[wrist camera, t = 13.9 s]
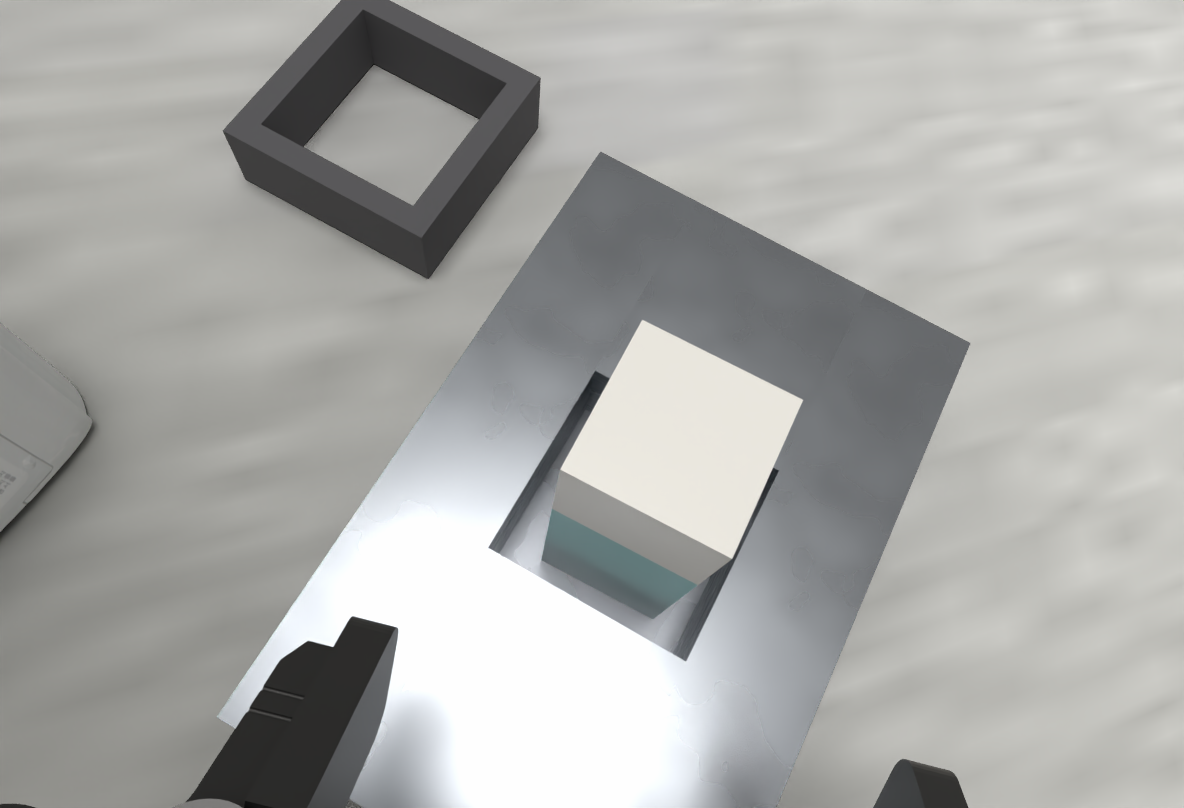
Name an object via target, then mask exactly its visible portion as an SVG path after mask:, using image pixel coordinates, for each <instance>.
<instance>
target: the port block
mask: <svg viewBox="0 0 1184 808" xmlns="http://www.w3.org/2000/svg"><path fill="white" fill-rule="evenodd" d="M642 320H644V321H646V322H648V323H650V324H652V325H654V326H656V327H658V328H660V329H662V330H664V331H666V332H668V333H670V334H672V335H674V336H676V337H678V338H680V339H682V340H684V341H686V342H688V343H690V344H692V345H694V346H696V347H698V348H700V349H702V350H704V351H706V352H708V353H710V354H712V355H714V356H716V357H718V358H720V359H722V360H724V361H726V362H728V363H730V364H732V365H734V366H736V367H738V368H740V369H742V370H744V371H746V372H748V373H750V374H752V375H754V376H756V377H758V378H760V379H762V380H764V381H766V382H768V383H770V384H772V385H774V386H776V387H778V388H780V389H782V390H784V391H786V392H788V393H790V394H792V395H794V396H796V397H798V398H800V399H802V400H803V401H802V404H801V406H800V408H799V410H798V413H797V415H796V417H795V419H794V422H793V424H792V426H791V428H790V431H789V433H788V435H787V437H786V440H785V442H784V444H783V446H782V449H781V451H780V453H779V455H778V457H777V460H776V462H775V464H774V466H773V469H772V471H771V473H770V475H769V478H768V480H767V482H766V484H765V487H764V489H763V491H762V493H761V496H760V498H759V500H758V502H757V505H756V507H755V509H754V511H753V513H752V516H751V518H750V520H749V522H748V525H747V527H746V529H745V531H744V534H743V536H742V538H741V540H740V543H739V545H738V547H737V549H736V552H735V554H734V556H733V558H732V559H731V560H730V561H729V562H728V563H726V564H725V565H724V566H722V567H721V568H720V569H718V570H717V571H716V572H714V573H713V574H712V575H710V576H709V577H708V578H707V579H705V580H704V581H703V582H701V583H700V584H699V585H697V586H696V587H695V588H693V589H692V590H691V591H689V592H688V593H687V594H686V595H684V596H683V597H682V598H680V599H679V600H678V601H676V602H675V603H674V604H672V605H671V606H670V607H668V608H667V609H666V610H665V611H663V612H662V613H661V614H659V615H658V616H657V617H655V618H654V619H651V618H649V617H647V616H646V615H644V614H642V613H640V612H638V611H636V610H634V609H632V608H630V607H629V606H627V605H625V604H623V603H621V602H619V601H617V600H615V599H613V598H612V597H610V596H608V595H606V594H604V593H602V592H600V591H598V590H596V589H595V588H593V587H591V586H589V585H587V584H585V583H583V582H581V581H580V580H578V579H576V578H574V577H572V576H570V575H568V574H566V573H564V572H563V571H561V570H559V569H557V568H555V567H553V566H551V565H549V564H547V563H546V562H544V561H542V560H541V559H542V554H543V549H544V544H545V539H546V535H547V530H548V525H549V520H550V515H551V511H552V506H553V501H554V496H555V492H556V487H557V482H558V477H559V472H560V469H561V467H562V465H563V463H564V462H565V460H566V458H567V456H568V454H569V452H570V451H571V449H572V447H573V445H574V443H575V441H576V440H577V438H578V436H579V434H580V432H581V431H582V429H583V427H584V425H585V423H586V421H587V420H588V418H589V416H590V414H591V412H592V411H593V409H594V407H595V405H596V403H597V401H598V400H599V398H600V396H601V394H602V392H603V390H604V389H605V387H606V385H607V383H608V381H609V380H610V378H611V376H612V374H613V372H614V370H615V369H616V367H617V365H618V363H619V361H620V360H621V358H622V356H623V354H624V352H625V350H626V349H627V347H628V345H629V343H630V341H631V339H632V338H633V336H634V334H635V332H636V330H637V329H638V327H639V325H640V323H641V321H642ZM969 345H970V343H969V342H967V341H965V340H963V339H961V338H959V337H958V336H956V335H954V334H952V333H950V332H948V331H946V330H944V329H942V328H940V327H938V326H936V325H934V324H932V323H931V322H929V321H927V320H925V319H923V318H921V317H919V316H917V315H915V314H913V313H911V312H909V311H907V310H905V309H903V308H902V307H900V306H898V305H896V304H894V303H892V302H890V301H888V300H886V299H884V298H882V297H880V296H878V295H876V294H874V293H873V292H871V291H869V290H867V289H865V288H863V287H861V286H859V285H857V284H855V283H853V282H851V281H849V280H847V279H845V278H844V277H842V276H840V275H838V274H836V273H834V272H832V271H830V270H828V269H826V268H824V267H822V266H820V265H818V264H816V263H815V262H813V261H811V260H809V259H807V258H805V257H803V256H801V255H799V254H797V253H795V252H793V251H791V250H789V249H788V248H786V247H784V246H782V245H780V244H778V243H776V242H774V241H772V240H770V239H768V238H766V237H764V236H762V235H760V234H759V233H757V232H755V231H753V230H751V229H749V228H747V227H745V226H743V225H741V224H739V223H737V222H735V221H733V220H731V219H730V218H728V217H726V216H724V215H722V214H720V213H718V212H716V211H714V210H712V209H710V208H708V207H706V206H704V205H702V204H701V203H699V202H697V201H695V200H693V199H691V198H689V197H687V196H685V195H683V194H681V193H679V192H677V191H675V190H673V189H672V188H670V187H668V186H666V185H664V184H662V183H660V182H658V181H656V180H654V179H652V178H650V177H648V176H646V175H645V174H643V173H641V172H639V171H637V170H635V169H633V168H631V167H629V166H627V165H625V164H623V163H621V162H619V161H617V160H616V159H614V158H612V157H610V156H608V155H606V154H604V153H602V152H600V153H599V155H598V156H597V157H596V159H595V160H594V162H593V163H592V165H591V166H590V168H589V169H588V171H587V172H586V174H585V175H584V177H583V178H582V180H581V181H580V183H579V184H578V185H577V187H576V188H575V190H574V191H573V193H572V194H571V196H570V197H569V199H568V200H567V202H566V203H565V205H564V206H563V208H562V209H561V210H560V212H559V213H558V215H557V216H556V218H555V219H554V221H553V222H552V224H551V225H550V227H549V228H548V230H547V231H546V233H545V234H544V236H543V237H542V238H541V240H540V241H539V243H538V244H537V246H536V247H535V249H534V250H533V252H532V253H531V255H530V256H529V258H528V259H527V261H526V262H525V264H524V265H523V266H522V268H521V269H520V271H519V272H518V274H517V275H516V277H515V278H514V280H513V281H512V283H511V284H510V286H509V287H508V289H507V290H506V292H505V293H504V294H503V296H502V297H501V299H500V300H499V302H498V303H497V305H496V306H495V308H494V309H493V311H492V312H491V314H490V315H489V317H488V318H487V320H486V321H485V322H484V324H483V325H482V327H481V328H480V330H479V331H478V333H477V334H476V336H475V337H474V339H473V340H472V342H471V343H470V345H469V346H468V348H467V349H466V350H465V352H464V353H463V355H462V356H461V358H460V359H459V361H458V362H457V364H456V365H455V367H454V368H453V370H452V371H451V373H450V374H449V375H448V377H447V378H446V380H445V381H444V383H443V384H442V386H441V387H440V389H439V390H438V392H437V393H436V395H435V396H434V398H433V399H432V401H431V402H430V403H429V405H428V406H427V408H426V409H425V411H424V412H423V414H422V415H421V417H420V418H419V420H418V421H417V423H416V424H415V426H414V427H413V429H412V430H411V431H410V433H409V434H408V436H407V437H406V439H405V440H404V442H403V443H402V445H401V446H400V448H399V449H398V451H397V452H396V454H395V455H394V457H393V458H392V459H391V461H390V462H389V464H388V465H387V467H386V468H385V470H384V471H383V473H382V474H381V476H380V477H379V479H378V480H377V482H376V483H375V485H374V486H373V487H372V489H371V490H370V492H369V493H368V495H367V496H366V498H365V499H364V501H363V502H362V504H361V505H360V507H359V508H358V510H357V511H356V512H355V514H354V515H353V517H352V518H351V520H350V521H349V523H348V524H347V526H346V527H345V529H344V530H343V532H342V533H341V535H340V536H339V538H338V539H337V540H336V542H335V543H334V545H333V546H332V548H331V549H330V551H329V552H328V554H327V555H326V557H325V558H324V560H323V561H322V563H321V564H320V566H319V567H318V568H317V570H316V571H315V573H314V574H313V576H312V577H311V579H310V580H309V582H308V583H307V585H306V586H305V588H304V589H303V591H302V592H301V594H300V595H299V596H298V598H297V599H296V601H295V602H294V604H293V605H292V607H291V608H290V610H289V611H288V613H287V614H286V616H285V617H284V619H283V620H282V622H281V623H280V624H279V626H278V627H277V629H276V630H275V632H274V633H273V635H272V636H271V638H270V639H269V641H268V642H267V644H266V645H265V647H264V648H263V649H262V651H261V652H260V654H259V655H258V657H257V658H256V660H255V661H254V663H253V664H252V666H251V667H250V669H249V670H248V672H247V673H246V675H245V676H244V677H243V679H242V680H241V682H240V683H239V685H238V686H237V688H236V689H235V691H234V692H233V694H232V695H231V697H230V698H229V700H228V701H227V703H226V704H225V705H224V707H223V708H222V710H221V711H220V713H219V714H218V716H217V718H219V719H220V720H222V721H224V722H225V723H227V724H228V725H230V726H232V727H233V728H235V729H236V727H237V725H238V724H239V722H240V721H241V719H242V718H243V716H244V715H245V713H246V712H248V711H249V708H250V705H251V704H252V702H253V701H254V699H255V698H256V696H257V695H258V693H259V692H260V691H262V689H263V686H264V684H265V682H266V681H267V679H268V678H269V676H270V675H271V673H272V672H273V670H274V669H275V667H276V665H277V664H278V662H279V661H280V659H282V658H283V657H285V656H286V655H288V654H289V653H291V652H292V651H294V650H295V649H296V648H298V647H299V646H301V645H302V644H304V643H305V642H307V641H312V642H316V643H320V644H324V645H327V646H331V647H333V646H334V645H335V643H336V641H337V639H338V638H339V636H340V634H341V632H342V631H343V629H344V627H345V626H346V624H347V622H348V621H349V619H350V618H351V617H352V616H355V617H359V618H363V619H367V620H370V621H374V622H378V623H382V624H386V625H390V626H394V627H398V630H399V633H398V640H397V646H396V651H395V657H394V663H393V668H392V674H391V679H390V685H389V691H388V696H387V701H386V706H385V710H384V714H383V717H382V721H381V724H380V727H379V730H378V733H377V736H376V738H375V741H374V743H373V745H372V748H371V750H370V752H369V755H368V757H367V759H366V761H365V764H364V766H363V768H362V770H361V773H360V775H359V777H358V780H357V782H356V784H355V786H354V789H353V791H352V793H351V795H350V798H349V799H350V800H352V801H353V802H355V803H356V804H358V805H360V806H361V807H363V808H776V807H777V804H778V802H779V799H780V797H781V795H782V792H783V790H784V787H785V785H786V783H787V780H788V778H789V776H790V773H791V771H792V768H793V766H794V764H795V761H796V759H797V756H798V754H799V752H800V749H801V747H802V744H803V742H804V740H805V737H806V735H807V733H808V730H809V728H810V725H811V723H812V721H813V718H814V716H815V713H816V711H817V709H818V706H819V704H820V701H821V699H822V697H823V694H824V692H825V689H826V687H827V685H828V682H829V680H830V678H831V675H832V673H833V670H834V668H835V666H836V663H837V661H838V658H839V656H840V654H841V651H842V649H843V646H844V644H845V642H846V639H847V637H848V634H849V632H850V630H851V627H852V625H853V623H854V620H855V618H856V615H857V613H858V611H859V608H860V606H861V603H862V601H863V599H864V596H865V594H866V591H867V589H868V587H869V584H870V582H871V580H872V577H873V575H874V572H875V570H876V568H877V565H878V563H879V560H880V558H881V556H882V553H883V551H884V548H885V546H886V544H887V541H888V539H889V536H890V534H891V532H892V529H893V527H894V525H895V522H896V520H897V517H898V515H899V513H900V510H901V508H902V505H903V503H904V501H905V498H906V496H907V493H908V491H909V489H910V486H911V484H912V482H913V479H914V477H915V474H916V472H917V470H918V467H919V465H920V462H921V460H922V458H923V455H924V453H925V450H926V448H927V446H928V443H929V441H930V438H931V436H932V434H933V431H934V429H935V427H936V424H937V422H938V419H939V417H940V415H941V412H942V410H943V407H944V405H945V403H946V400H947V398H948V395H949V393H950V391H951V388H952V386H953V383H954V381H955V379H956V376H957V374H958V372H959V369H960V367H961V364H962V362H963V360H964V357H965V355H966V352H967V350H968V348H969Z"/></svg>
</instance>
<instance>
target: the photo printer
mask: <svg viewBox="0 0 1184 808" xmlns="http://www.w3.org/2000/svg"><path fill="white" fill-rule="evenodd" d="M91 425H92V420H91V418H90V417H89V416H88V415H87V414H86V409H85V405H84V402H83V399H82V397H81V395H80V394H79V392H78V391H77V389H76V388H75V387H74V386H73V384H72V383H71V382H70V381H69V380H67V379H66V378H65V377H64V376H63V375H62V374H60V373H59V372H58V371H57V370H56V369H55V368H53V367H52V366H51V365H50V364H49V363H48V362H46V361H45V360H44V359H43V358H42V357H41V356H39V355H38V354H37V353H36V352H35V351H33V350H32V349H31V348H30V347H29V346H28V345H26V344H25V343H24V342H23V341H22V340H20V339H19V338H18V337H17V336H16V335H15V334H13V333H12V332H11V331H10V330H9V329H8V328H6V327H5V326H4V325H3V324H2V323H0V532H1V531H2V530H3V529H4V527H5V526H6V525H7V524H8V523H9V522H10V521H11V520H12V519H13V518H14V517H15V516H16V515H17V514H18V513H19V512H20V511H21V510H22V509H23V508H24V507H25V506H26V504H27V503H29V502H30V501H31V500H32V499H33V498H34V497H35V496H36V495H37V493H38V492H39V491H40V490H41V489H42V488H43V487H44V486H45V484H46V483H47V482H48V481H49V480H50V479H51V478H52V477H53V476H54V474H55V473H56V472H57V471H58V470H59V469H60V468H61V467H62V465H63V464H64V463H65V462H66V461H67V460H68V459H69V457H70V456H71V455H72V454H73V452H74V451H75V450H76V449H77V447H78V446H79V445H80V443H81V442H82V441H83V439H84V438H85V437H86V435H87V433H88V431H89V430H90V427H91Z"/></svg>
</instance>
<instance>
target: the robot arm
mask: <svg viewBox="0 0 1184 808" xmlns="http://www.w3.org/2000/svg"><path fill="white" fill-rule="evenodd" d="M398 633H399V630H398V627H394V626H390V625H386V624H382V623H378V622H374V621H370V620H367V619H363V618H359V617H355V616H352V617H351V618H350V619H349V621H348V622H347V624H346V626H345V627H344V629H343V631H342V632H341V634H340V636H339V638H338V639H337V641H336V643H335V645H334V646H333V647H331V646H327V645H324V644H320V643H316V642H312V641H307V642H305V643H304V644H302V645H301V646H299V647H298V648H296V649H295V650H294V651H292V652H291V653H289V654H288V655H286V656H285V657H283V658H282V659H280V661H279V662H278V664H277V665H276V667H275V669H274V670H273V672H272V673H271V675H270V676H269V678H268V679H267V681H266V682H265V684H264V686H263V689H262V691H260V692H259V693H258V695H257V696H256V698H255V699H254V701H253V702H252V704H251V705H250V708H249V711H248V712H246V713H245V715H244V716H243V718H242V719H241V721H240V722H239V724H238V725H237V727H236V729H235V730H234V732H233V733H232V735H231V736H230V738H229V739H228V741H227V742H226V744H225V746H224V747H223V749H222V750H221V752H220V753H219V755H218V756H217V758H216V759H215V761H214V762H213V764H212V766H211V767H210V769H209V770H208V772H207V773H206V775H205V776H204V778H203V779H202V781H201V782H200V784H199V786H198V787H197V789H196V790H195V791H194V793H193V794H192V795H191V797H190V798H189V799H188V800H187V801H186V802H185V803H183V804H180V805H177V806H175V807H173V808H345V807H346V805H347V802H348V800H349V798H350V795H351V793H352V791H353V789H354V786H355V784H356V782H357V780H358V777H359V775H360V773H361V770H362V768H363V766H364V764H365V761H366V759H367V757H368V755H369V752H370V750H371V748H372V745H373V743H374V741H375V738H376V736H377V733H378V730H379V727H380V724H381V721H382V717H383V714H384V710H385V706H386V701H387V696H388V691H389V685H390V679H391V674H392V668H393V663H394V657H395V651H396V646H397V640H398ZM0 808H35V807H31V806H28V805H21V804H1V805H0ZM873 808H968V806H967V803H966V800H965V798H964V795H963V792H962V790H961V787H960V784H959V781H958V779H957V777H956V776H955V774H954V773H953V772H951V771H949V770H945V769H941V768H937V767H933V766H929V765H925V764H921V763H918V762H914V761H910V760H906V759H902V760H900V761H899V762H897V764H896V765H895V767H894V768H893V770H892V772H891V774H890V776H889V778H888V780H887V782H886V784H885V786H884V788H883V790H882V792H881V794H880V796H879V798H878V799H877V801H876V803H875V805H874V807H873Z"/></svg>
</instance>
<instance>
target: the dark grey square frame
mask: <svg viewBox="0 0 1184 808" xmlns="http://www.w3.org/2000/svg"><path fill="white" fill-rule="evenodd" d="M373 64H375V65H377V66H379V67H381V68H383V69H385V70H387V71H389V72H391V73H393V74H394V75H396V76H398V77H400V78H402V79H404V80H406V81H408V82H410V83H412V84H414V85H416V86H418V87H419V88H421V89H423V90H425V91H427V92H429V93H431V94H433V95H435V96H437V97H439V98H441V99H442V100H444V101H446V102H448V103H450V104H452V105H454V106H456V107H458V108H460V109H462V110H464V111H465V112H467V113H469V114H471V115H473V116H475V117H477V118H479V121H478V122H477V123H476V125H475V126H474V127H473V128H472V130H471V131H470V132H469V134H468V135H467V136H466V138H465V139H464V140H463V142H462V143H461V144H460V145H459V147H458V148H457V149H456V151H455V152H454V153H453V155H452V156H451V157H450V159H449V160H448V161H447V163H446V164H445V165H444V166H443V168H442V169H441V170H440V172H439V173H438V174H437V176H436V177H435V178H434V180H433V181H432V182H431V183H430V185H429V186H428V187H427V189H426V190H425V191H424V193H423V194H422V195H421V197H420V198H419V199H418V201H417V202H416V203H415V204H414V206H412V205H410V204H408V203H406V202H405V201H403V200H401V199H399V198H397V197H395V196H393V195H391V194H390V193H388V192H386V191H384V190H382V189H380V188H378V187H377V186H375V185H373V184H371V183H369V182H367V181H365V180H364V179H362V178H360V177H358V176H356V175H354V174H352V173H350V172H349V171H347V170H345V169H343V168H341V167H339V166H337V165H336V164H334V163H332V162H330V161H328V160H326V159H324V158H323V157H321V156H319V155H317V154H315V153H313V152H311V151H310V150H308V149H306V148H304V147H303V146H304V145H305V144H306V142H307V141H308V140H309V139H310V138H311V137H312V135H313V134H314V133H315V132H316V131H317V130H318V128H319V127H320V126H321V125H322V124H323V123H324V121H325V120H326V119H327V118H328V117H329V116H330V114H331V113H332V112H333V111H334V110H335V108H336V107H337V106H338V105H339V104H340V103H341V101H342V100H343V99H344V98H345V97H346V96H347V94H348V93H349V92H350V91H351V90H352V89H353V87H354V86H355V85H356V84H357V83H358V82H359V80H360V79H361V78H362V77H363V76H364V75H365V73H366V72H367V71H368V70H369V69H370V67H371V66H372V65H373ZM540 80H541V78H540V77H538V76H536V75H534V74H532V73H530V72H528V71H526V70H524V69H522V68H521V67H519V66H517V65H515V64H513V63H511V62H509V61H507V60H505V59H503V58H501V57H499V56H497V55H495V54H493V53H491V52H489V51H487V50H485V49H483V48H481V47H480V46H478V45H476V44H474V43H472V42H470V41H468V40H466V39H464V38H462V37H460V36H458V35H456V34H454V33H452V32H450V31H448V30H446V29H444V28H442V27H440V26H439V25H437V24H435V23H433V22H431V21H429V20H427V19H425V18H423V17H421V16H419V15H417V14H415V13H413V12H411V11H409V10H407V9H405V8H403V7H401V6H399V5H398V4H396V3H394V2H392V1H390V0H341V1H340V2H339V3H338V4H337V5H336V7H335V8H334V9H333V10H332V11H331V12H330V13H329V14H328V15H327V16H326V18H325V19H324V20H323V21H322V22H321V23H320V24H319V25H318V26H317V27H316V29H315V30H314V31H313V32H312V33H311V34H310V35H309V36H308V37H307V38H306V40H305V41H304V42H303V43H302V44H301V45H300V46H299V47H298V48H297V49H296V51H295V52H294V53H293V54H292V55H291V56H290V57H289V58H288V59H287V60H286V62H285V63H284V64H283V65H282V66H281V67H280V68H279V69H278V70H277V71H276V73H275V74H274V75H273V76H272V77H271V78H270V79H269V80H268V81H267V82H266V84H265V85H264V86H263V87H262V88H261V89H260V90H259V91H258V92H257V93H256V95H255V96H254V97H253V98H252V99H251V100H250V101H249V102H248V103H247V104H246V106H245V107H244V108H243V109H242V110H241V111H240V112H239V113H238V114H237V116H236V117H235V118H234V119H233V120H232V121H231V122H230V123H229V124H228V125H227V127H226V128H225V129H224V130H223V132H224V134H225V137H226V139H227V141H228V143H229V145H230V147H231V149H232V151H233V154H234V156H235V158H236V160H237V162H238V164H239V166H240V168H241V171H242V173H243V175H244V177H245V179H246V180H248V181H250V182H252V183H253V184H255V185H257V186H259V187H261V188H263V189H264V190H266V191H268V192H270V193H272V194H274V195H275V196H277V197H279V198H281V199H283V200H285V201H286V202H288V203H290V204H292V205H294V206H296V207H297V208H299V209H301V210H303V211H305V212H307V213H308V214H310V215H312V216H314V217H316V218H318V219H319V220H321V221H323V222H325V223H327V224H329V225H330V226H332V227H334V228H336V229H338V230H340V231H341V232H343V233H345V234H347V235H349V236H351V237H352V238H354V239H356V240H358V241H360V242H362V243H364V244H365V245H367V246H369V247H371V248H373V249H375V250H376V251H378V252H380V253H382V254H384V255H386V256H387V257H389V258H391V259H393V260H395V261H397V262H398V263H400V264H402V265H404V266H406V267H408V268H409V269H411V270H413V271H415V272H417V273H419V274H420V275H422V276H424V277H426V278H429V277H430V276H431V274H432V273H433V272H434V270H435V269H436V267H437V266H438V265H439V263H440V262H441V260H442V259H443V258H444V256H445V255H446V254H447V252H448V251H449V249H450V248H451V247H452V245H453V244H454V243H455V241H456V240H457V238H458V237H459V236H460V234H461V233H462V232H463V230H464V229H465V227H466V226H467V225H468V223H469V222H470V220H471V219H472V218H473V216H474V215H475V214H476V212H477V211H478V209H479V208H480V207H481V205H482V204H483V203H484V201H485V200H486V198H487V197H488V196H489V194H490V193H491V192H492V190H493V189H494V187H495V186H496V185H497V183H498V182H499V180H500V179H501V178H502V176H503V175H504V174H505V172H506V171H507V169H508V168H509V167H510V165H511V164H512V163H513V161H514V160H515V158H516V157H517V156H518V154H519V153H520V152H521V150H522V149H523V147H524V146H525V145H526V143H527V142H528V141H529V139H530V138H531V136H532V135H533V134H534V132H535V131H536V129H537V128H538V117H539V99H540Z"/></svg>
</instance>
